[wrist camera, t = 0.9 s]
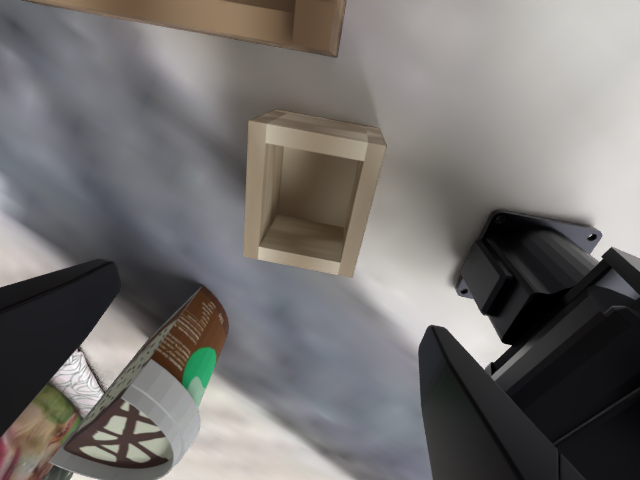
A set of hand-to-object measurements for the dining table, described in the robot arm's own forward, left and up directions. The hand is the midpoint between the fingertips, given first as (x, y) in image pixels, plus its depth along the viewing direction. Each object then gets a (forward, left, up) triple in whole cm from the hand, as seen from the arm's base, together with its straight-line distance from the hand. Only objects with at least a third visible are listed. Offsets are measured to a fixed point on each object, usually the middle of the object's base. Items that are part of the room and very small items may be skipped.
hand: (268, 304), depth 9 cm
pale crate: (0, 0, -12) cm, 12 cm away
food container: (+8, +16, -12) cm, 21 cm away
